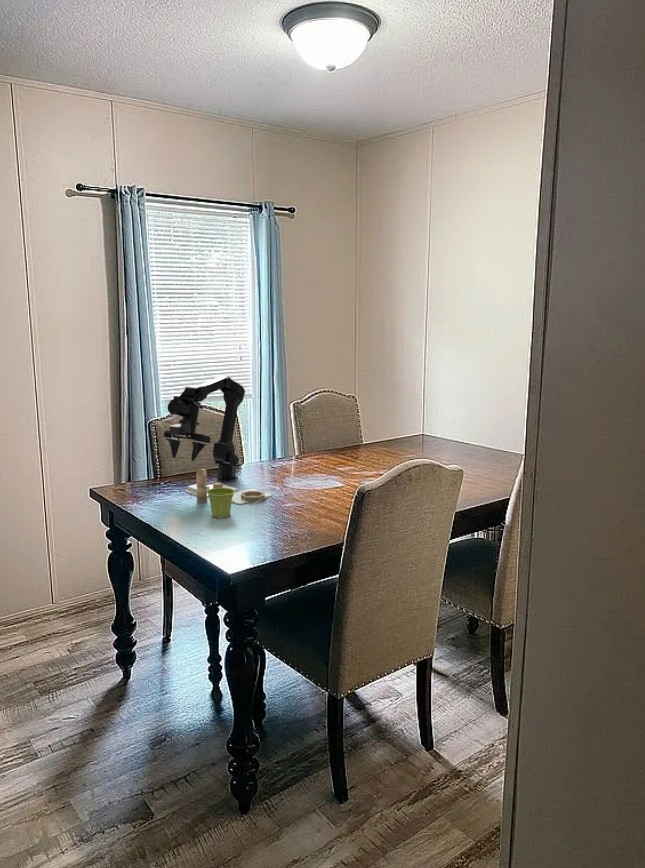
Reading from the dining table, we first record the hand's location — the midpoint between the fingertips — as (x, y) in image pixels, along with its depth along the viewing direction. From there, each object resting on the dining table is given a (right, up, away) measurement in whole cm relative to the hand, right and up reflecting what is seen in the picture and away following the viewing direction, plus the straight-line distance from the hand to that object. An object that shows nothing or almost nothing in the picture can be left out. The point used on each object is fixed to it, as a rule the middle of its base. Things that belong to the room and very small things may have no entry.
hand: (183, 459), depth 254 cm
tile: (+10, -13, +7) cm, 17 cm away
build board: (+25, -14, -2) cm, 29 cm away
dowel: (+9, -15, -7) cm, 19 cm away
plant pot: (+18, -19, -23) cm, 35 cm away
